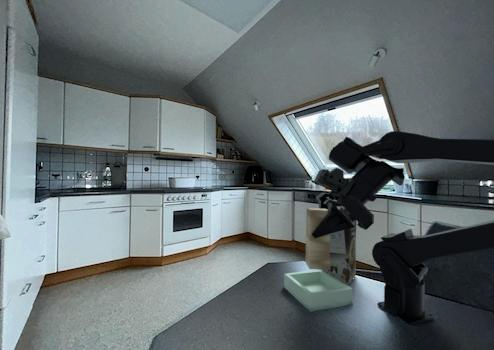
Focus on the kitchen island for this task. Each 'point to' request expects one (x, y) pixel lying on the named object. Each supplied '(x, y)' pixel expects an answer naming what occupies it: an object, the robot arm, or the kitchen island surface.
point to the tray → (318, 290)
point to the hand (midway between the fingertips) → (310, 234)
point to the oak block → (316, 241)
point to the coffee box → (343, 255)
